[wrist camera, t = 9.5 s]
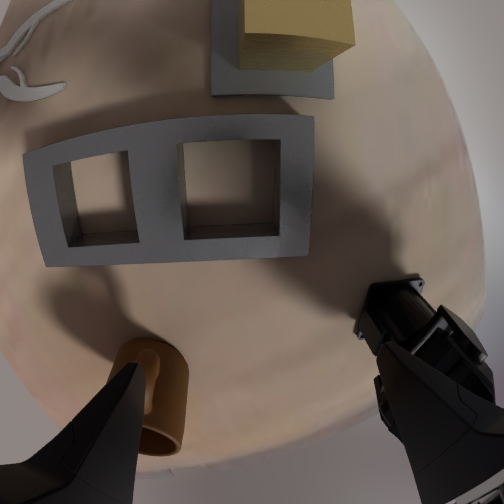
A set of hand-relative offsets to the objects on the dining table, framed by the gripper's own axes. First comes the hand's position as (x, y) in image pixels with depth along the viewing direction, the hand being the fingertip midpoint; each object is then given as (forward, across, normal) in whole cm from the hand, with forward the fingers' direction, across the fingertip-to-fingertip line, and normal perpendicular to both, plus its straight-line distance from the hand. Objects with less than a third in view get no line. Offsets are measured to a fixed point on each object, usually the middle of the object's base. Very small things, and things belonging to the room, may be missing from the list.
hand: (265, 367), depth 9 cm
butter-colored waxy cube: (+11, -2, -14) cm, 18 cm away
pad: (+12, -2, -14) cm, 19 cm away
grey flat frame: (+12, +6, -4) cm, 14 cm away
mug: (+12, +9, +11) cm, 19 cm away
